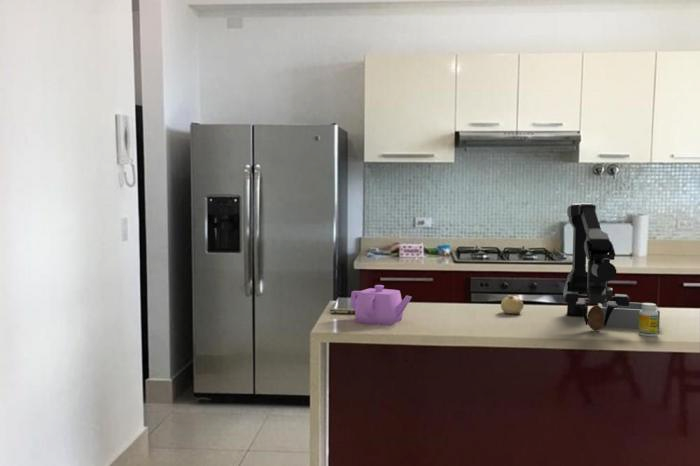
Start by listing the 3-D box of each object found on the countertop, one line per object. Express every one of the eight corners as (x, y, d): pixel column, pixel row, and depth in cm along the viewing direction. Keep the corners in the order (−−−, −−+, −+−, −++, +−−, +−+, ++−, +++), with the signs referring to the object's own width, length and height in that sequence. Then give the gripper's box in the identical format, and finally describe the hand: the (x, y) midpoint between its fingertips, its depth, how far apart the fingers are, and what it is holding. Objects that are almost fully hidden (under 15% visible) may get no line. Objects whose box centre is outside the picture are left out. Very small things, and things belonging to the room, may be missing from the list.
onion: (498, 311, 232) (498, 292, 231) (519, 311, 232) (519, 292, 231) (504, 315, 224) (504, 296, 223) (526, 315, 224) (526, 295, 223)
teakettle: (347, 318, 220) (347, 283, 220) (391, 314, 226) (391, 280, 226) (365, 328, 204) (365, 290, 204) (412, 324, 210) (412, 287, 210)
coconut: (595, 332, 196) (595, 307, 196) (583, 329, 201) (584, 304, 200) (608, 331, 198) (608, 306, 197) (596, 327, 203) (597, 303, 202)
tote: (598, 325, 206) (599, 307, 206) (597, 317, 220) (598, 300, 219) (659, 329, 200) (659, 311, 200) (654, 321, 213) (655, 303, 213)
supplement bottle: (644, 332, 197) (645, 301, 197) (661, 335, 193) (662, 304, 192) (634, 334, 194) (635, 303, 194) (651, 337, 190) (652, 306, 189)
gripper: (565, 278, 194) (564, 328, 195) (631, 281, 187) (629, 333, 189) (566, 274, 204) (565, 321, 205) (628, 276, 198) (627, 325, 199)
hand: (595, 325), depth 199 cm, fingers closed on coconut, 5 cm apart
